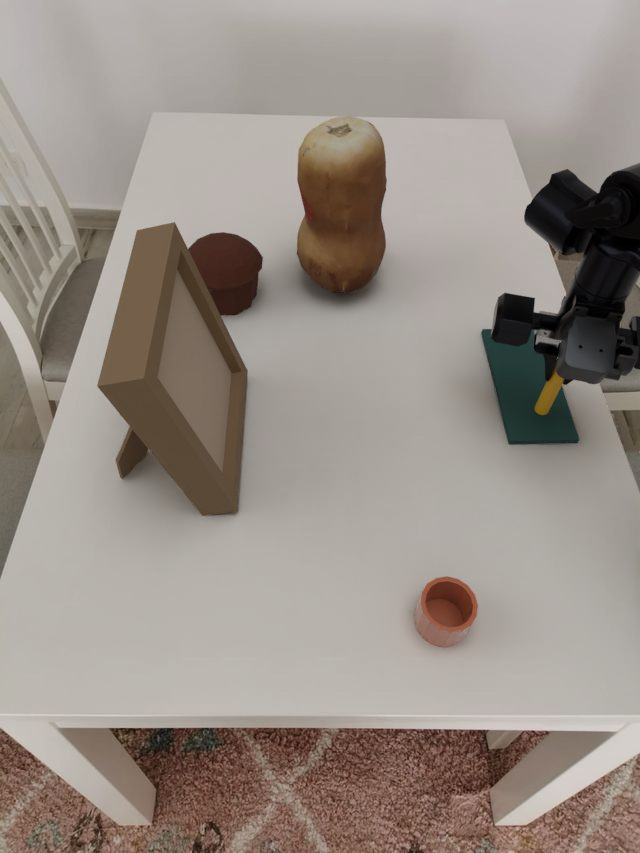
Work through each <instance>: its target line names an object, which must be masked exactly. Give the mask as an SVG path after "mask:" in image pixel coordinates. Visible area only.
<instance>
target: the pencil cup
mask: <svg viewBox="0 0 640 853" xmlns="http://www.w3.org/2000/svg"><path fill="white" fill-rule="evenodd" d="M478 610H479V603H478V601H477V596H476V594H475V593H474V591H473V590H472V589H471V588H470V586H469V585H468V584H467V583H465V582H464V581H462V580H461V579H458V578H456V577H451V576H440V577H436V578H434V579H432V580H430V581H429V582H428V583H427V584H426V585H425V587H424V588H423V590H422V592H421V594H420V596H419V599H418V602H417V604H416V607H415V610H414V616H413V617H414V618H413V620H414V624H415V628H416V630H417V633H419V635H420V636H421V638H422V639H424V640H425V641H426V642H427V643H429V644H431V645H432V646H436V647H439V648H448V647H453V646H455V645H457V644H458V643H460V642H461V641H463V639H464V637H465V636H466V634H467V632H469V630H470V628H471V626H472V625H473V623H474V621H475V620H476V619H477V616H478Z"/></svg>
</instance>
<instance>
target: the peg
mask: <svg viewBox="0 0 640 853" xmlns="http://www.w3.org/2000/svg"><path fill="white" fill-rule="evenodd" d="M557 361H558V357H557ZM557 361H556V364H555V367H554V371H553V374H552V376H551V378H550V380H549V381H547V382H546V384H545V386H544V388H543V390H542V393H541V395H540V397H539V399H538V401H537V403H536V405H535V412H536V413H537V414H539V415H546V414H548V412H549V410H550V408H551V406H552V404H553V402H554V400H555V398H556V396H557V394H558V392H559V390H560V388H561V386H562V387H563V385H564V384H563V382H564V380H565V379H563V378H561V377H559V376H558V374H557V372H556V365H557Z"/></svg>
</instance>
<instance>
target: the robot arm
mask: <svg viewBox="0 0 640 853" xmlns="http://www.w3.org/2000/svg"><path fill="white" fill-rule="evenodd" d="M523 214H524V215H523V221H524V223H525V225H526V226H527V227H529V228H530V229H531V230H532V231H533V232H534V233H535V234H537V235H538V236H539V237H541V239H542V240H544V241H545V242H546V243H548V244H549V245H550V246H551V247H553V249H555V251H557V252H558V253H559V254H561V255H562V256H572V255H575V254H576V253H577V254H582V253H583V254H582V257H581V259H580V262H579V264H578V266H576V267H575V270H574V272H573V276H572V280H571V283H570V285H569V287H568V290H567V292H566V294H565V295H563V298H562V300H561V302H560V308H559V310H558V312H556V313H555V312H550V311H546V310H545V311H544V310H540V311H539V312H537V311H535V302H536V298H535V297H532V296H527V295H520V294H514V293H508V292H504V293H502V294H501V295H500V296H498V297H497V299H496V302H495V306H494V311H493V318H492V324H491V329H492V331H491V339H492V340H493V341H494V342H496V343H501V344H507V345H512V346H517V347H519V346H521V345H524V344H526V343H527V342H528V340H529V337H530V334H531V330H534V337H533V351H534V352H535V353H538V354H542V355H543V356H544V360H545V381H549V380H550V378H551V376H552V374H553V371H554V367H555V364H556V361H557V358H558V361H557V365H556V372H557V374H558V376H559V377H561V378H563V379H565V380H564V382H563V384H562V385H564V386H567V385H569V384H570V383H572V381H577V382H578V381H579V382H583V383H587V384H589V385H598V384H600V383H601V382H603V381H604V379H608V380H612V381H619V380H620V378H621V376H623V377H626V376H628V375H629V374H631V372H632V370H633V369H635V370H640V316H639V315H632V316H631V318H630V320H629V321H628V328H625V327H623V322H622V321H623V317H624V314H625V312H626V303H627V302H628V299H629V298H630V295H631V293H632V292H633V290H634V288H635V286H636V284H637V282H638V281H639V279H640V162H638V163H635V164H632V165H629V166H627V167H624V168H621V169H618V170H615V171H613V172H611V173H610V174H609V175H608V176H607V177H606V178H605V179H604V181H603V182H602V184H601V185H600V188H599V191H598V192H597V191H595V190H594V189H593V188H592V187H590V186H588V185H587V184H586V183H584V182H583V181H582V180H580V178H579V177H578V176H577V175H576V174H575V173H574V172H573V171H572V170H570V169H569V168H566V169H563V170H560V171H556V172H554V173H551V176H550V178H549V181H548V183H547V184H545V185H544V186H543V187H542V188H541V189H540V190H539V191H538V192H537V193H536V194H535V196H534V197H533V198H532V200H531V201H530V203H528V204H527V205H526V208H525V210H524V213H523Z"/></svg>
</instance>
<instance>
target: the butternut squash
mask: <svg viewBox="0 0 640 853" xmlns="http://www.w3.org/2000/svg"><path fill="white" fill-rule="evenodd" d="M297 154H298V155H297V176H296V180H297V184H298V189H299V193H300V198H301V202H302V205H303V206H302V207H303V210H304V216H303V218H302V220H301V222H300V225H299V228H298V231H297V237H296V239H297V240H296V256H297V258H298V261H299V264H300V266H301V268H302V269H303V271H304V272H305V274H306V275H307V276H308V277H309V278H310V279H311V281H312V282H315V284H317V285H318V286H319V287H320V288H321V289H324V290H326V291H329V292H331V293H335V294H336V293H344V294H347V295H349V294H351V293H354V292H356V291H359V290H361V289H363V288H365V287H366V286H367V285H368V284H369V283H371V281H372V280H373V279H374V277H375V276H376V275H377V273H378V272H379V269H380V267H381V265H382V261H383V260H384V257H385V253H386V247H387V239H386V231H385V229H384V223H383V218H382V208H383V204H384V203H383V202H384V200H385V196H386V192H387V181H388V179H387V167H386V166H387V161H386V160H387V159H386V151H385V143H384V141H383V137H382V136H381V133H380V131H379V130H378V129H377V128H376V126H375V125H374V124H373V123H371V122H370V121H367V120H365V119H363V118H360V117H355V116H339V117H334V118H330V119H327V120H325V121H324V122H322V123H320V124H319V125H317V126H315V127H314V128H312V129H311V130H310V131H308V133H307V134H305V136H304V138H303V141H302V143H301V144H300V146H299V148H298V152H297Z"/></svg>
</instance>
